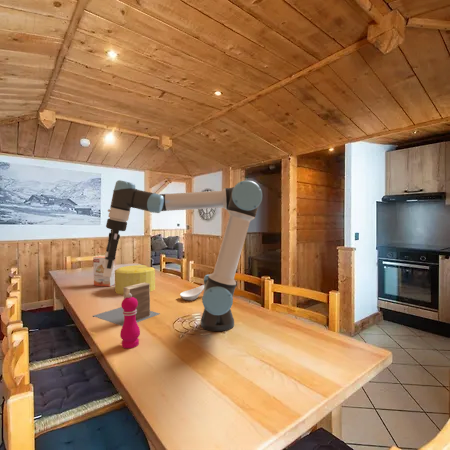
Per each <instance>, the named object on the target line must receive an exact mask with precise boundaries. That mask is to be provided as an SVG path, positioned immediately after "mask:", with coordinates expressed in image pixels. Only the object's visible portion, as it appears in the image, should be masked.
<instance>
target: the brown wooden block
mask: <svg viewBox="0 0 450 450" xmlns="http://www.w3.org/2000/svg"><path fill="white" fill-rule="evenodd" d="M129 293H131V294H132V297H134V298H136V299H137V301H138V306H137V308H136V309H137V311H136V312H137V313H136V316H135V317H136V321H137V320H140V319H143V318H145V317H148V316H150V311H151V294H150V293H151V292H150V284H149V283H140V284H136V285H132V286H128V287H124V295H123V300H124V299H125V298H127V295H128V294H129Z"/></svg>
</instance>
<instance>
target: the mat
mask: <svg viewBox="0 0 450 450" xmlns="http://www.w3.org/2000/svg"><path fill="white" fill-rule="evenodd" d="M123 310H124V309H123V308H122V306H121V307H117V308H114V309H110V310H107V311H104V312H101V313H98V314H93V315H92V317H93V318H98V319H100V320H103V321H106V322H109V323H112V324H115V325H118V326H120V327H122V326H123V324H124V315H123ZM159 315H161V313H160V312H155V311H152V310H150V316H148V317H145V318H143V319H140V320H137V321H136V322H137V323H139V322H142V321H145V320H148V319H150V318H153V317H155V316H159Z"/></svg>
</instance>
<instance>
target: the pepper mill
mask: <svg viewBox="0 0 450 450" xmlns="http://www.w3.org/2000/svg"><path fill="white" fill-rule="evenodd" d="M137 306H138V301H137V299H136V298H134V297H132V294H131V293H129V294H128V295H127V298H125V299H124V298H123V299H122V301H121V307H122V308H123V309H124V310H123V315H124V324H123V326H121V329H120V332H119V333H120V335H119V337H120V338H121V339H122V340H121V346H122V348H124V349H133V348H136V347H138V345H139V344H140V339H139V337H140V335H141V330H140V327H139V325H138V322H136V317H135V316H136V313H137V312H136V311H137V309H136V308H137Z"/></svg>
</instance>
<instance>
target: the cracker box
mask: <svg viewBox="0 0 450 450" xmlns="http://www.w3.org/2000/svg"><path fill="white" fill-rule="evenodd" d="M104 259H105V255H103V256H102V255H101V256H99V255H97V256H93V263H92V264H93V286H97V287H98V286H99V287H108V288H109V287H113V286H115V270H116V269H115V266H116V265H115V263H114V264H113V268H112V273H111V277H105V276H103V273H104V268H103V263H104Z"/></svg>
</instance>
